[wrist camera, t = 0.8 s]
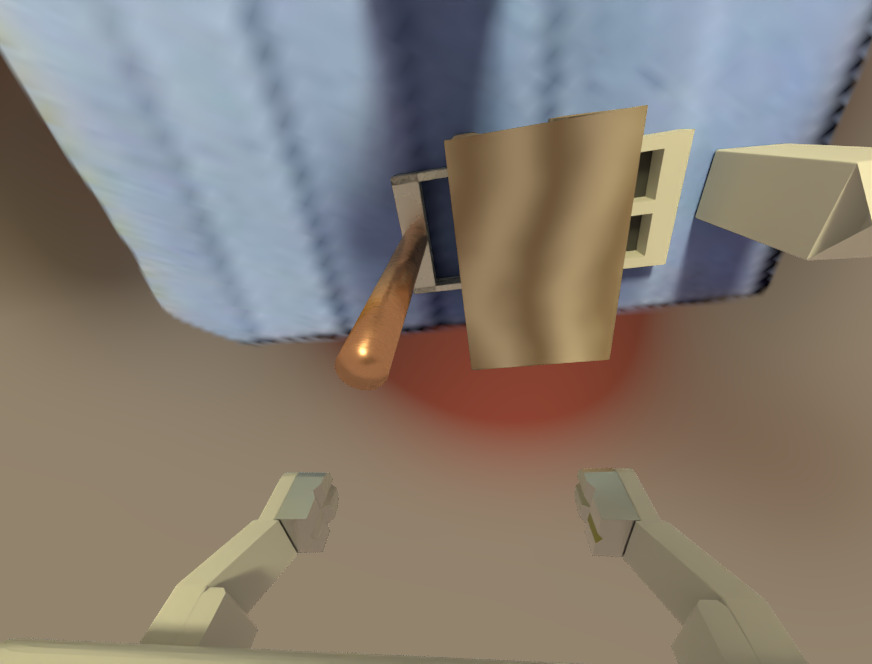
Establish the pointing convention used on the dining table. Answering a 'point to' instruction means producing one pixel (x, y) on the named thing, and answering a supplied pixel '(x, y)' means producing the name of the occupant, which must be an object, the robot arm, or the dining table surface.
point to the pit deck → (657, 196)
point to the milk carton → (794, 198)
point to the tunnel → (544, 235)
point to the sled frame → (394, 289)
